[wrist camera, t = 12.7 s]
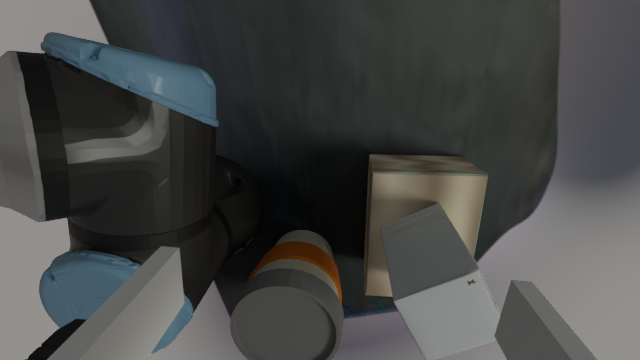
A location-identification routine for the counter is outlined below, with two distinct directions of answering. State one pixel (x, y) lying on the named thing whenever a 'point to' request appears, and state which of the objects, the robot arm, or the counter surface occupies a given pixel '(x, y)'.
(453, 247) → the supplement box
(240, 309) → the reusable coffee cup
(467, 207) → the maple box
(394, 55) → the counter surface
